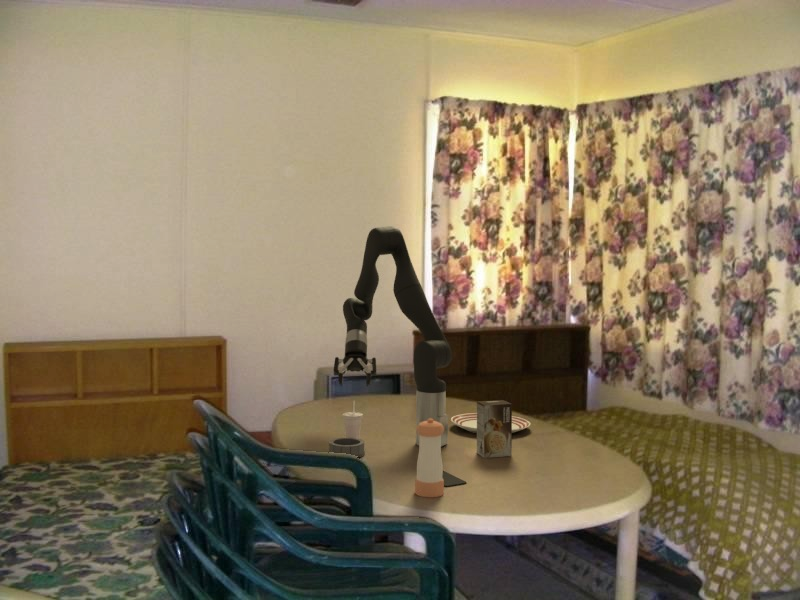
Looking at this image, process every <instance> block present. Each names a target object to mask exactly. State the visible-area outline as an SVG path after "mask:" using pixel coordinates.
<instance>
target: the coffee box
mask: <svg viewBox="0 0 800 600" xmlns="http://www.w3.org/2000/svg"><path fill="white" fill-rule="evenodd" d="M476 413H477V433H476V454H478V455H480V456H481V457H482V458H484V459H488V458H490V459H491V458H500V457H502V458H503V457H504V458H505V457H511V456H512V453H513V449H512V446H513V445H512V444H513V443H512V441H513V440H512V437H513V433H512V416H513V403H510V402H509V401H506V400H503V399H501V400H500V399H498V400H482V401H478V400H477V401H476Z"/></svg>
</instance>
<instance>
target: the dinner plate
mask: <svg viewBox="0 0 800 600" xmlns="http://www.w3.org/2000/svg"><path fill="white" fill-rule="evenodd" d="M450 422H451V423H452V424H454V425H455V426H456V427H459V428H461V429H463V430H466V431H467V432H469V433H474V434H477V412H472V413H471V412H470V413H461V414H457V415H454V416H452V417H451V418H450ZM531 424H532V423H531V422H530V421H528V420H527V419H525V418H523V417H518V416H513V415H512V434H515V433H516V432H520V431H522V430H524V429H527V428H529V427H530V426H531Z"/></svg>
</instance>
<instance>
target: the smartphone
mask: <svg viewBox="0 0 800 600" xmlns="http://www.w3.org/2000/svg"><path fill="white" fill-rule="evenodd" d="M442 478H443V480H444V488H453V487H457V486H458V487H459V486H463V485H467V482H466V480H463V479H461V478H459V477H457V476H455V475H453V474H451V473H449V472H447V471H445V470H443V474H442Z"/></svg>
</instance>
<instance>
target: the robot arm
mask: <svg viewBox="0 0 800 600" xmlns="http://www.w3.org/2000/svg"><path fill="white" fill-rule="evenodd" d="M363 253H364V254H363V259H362V265H361V271H360V274H359V277H358V280H357V281H356V285H355V288H354V291H353V294H354V297H349V298H347V299H345V300H344V303H343V305H342V313H343V316H344V319H345V323H346V336H345V341H344V342H345V343H344V344H345V345H344V357H343V358H339V357H338V356H335V358H334V365H333V376H335V377H336V376H337V377H338V379H337V380H338V385H340V387H343V385H344V376H345V375H346V374H347V373H348V372H349V371H350V372H360V373H361V372H362V373H363V375H365V376H366V377H365V378H366V379H365V380H366V383H365V384H366V385H365V386H366V387H369V386H370V385H371V382H372V377H377V359H376V357H372V358H371V359H368V357H367V356H368V337H367V336H368V334H367V333H368V324H367V322H366V321H368V320H369V319H370V318H371V317H372V314H373V300H374V296H375V294H376V291H377V289H378V286H379V281H380V277H379V272H378V270H377V266H376V263H377V261H378V258H380V256H385V255H391V257H392V258H393V261H394V264H395V268H396V269H395V277H394V280H393V281H394V282H393V287H392V288H393V289H392V291H393V294H394V297H395V299H396V302H397V304H398V307H399V309H400V311H401V313H402V314H403V315H404V316H405V317H406V318H407V319H408V320H409V321H410V322H411V323H412V324H413V325H414V326H415V327H416V328H417V329H418V331H420V333H421V335H422V336H423V337H422V338H423V340H421V341H419V342H417V344H416V346H415V347H414V350H413V377H414V383H415V385H416V398H415V399H416V404H415V406H416V407H415V409H416V414H415V415H416V416H415V445H417V446H418V447H419V438H420V435H419V434H418V433H417V430H416V429H417V426H418V424H419V423H421V422H423V421H427V420H428V419H429V418H431V419H433V420H434V421H437V422H439V423H441V424H442V425H443V427H444V432H443V434H442V435H441V448H442V447H443V446H445V445H447V444H448V429H449V428H448V425H449V424H448V423H449V419H448V418H449V415H448V414H447V413H446V402H447V401H446V398H447V397H446V390H447V386H446V385H447V383H446V381H444V380H443V379H440V378H438V376H437V370H438V369H442V368H443V369H444V368H446V367H448V366H449V365H450V364H451V361H452V357H453V355H452V349H451V347H450V344H449V341H448V340H447V338H446V337H445V335H444V333H443V331H442V329H441V327H440V326H439V324H438V322H437V319H436V318H435V314H434V313H433V310H432V308H431V306H430V304H429V301H428V299H427V297H426V294H425V291H424V289H423V287H422V285H421V282H420V280H419V278H418V276H417V273H416V270H415V268H414V266H413V262H412V260H411V257H410V254H409V250H408V248H407V244H406V241H405V238H404V235H403V233H402V231H401V230H400V229H399V227H397V226H393V225H391V226H390V225H389V226H379V227H373V228H371V230H369V232H368V235H367V237H366V242H365V247H364V252H363ZM342 364H343V366H342V367H341V369H339V366H341V365H342ZM368 364H369V365H370V366H371V367H372V370H370V369H369V367H368V366H367V365H368Z"/></svg>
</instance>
